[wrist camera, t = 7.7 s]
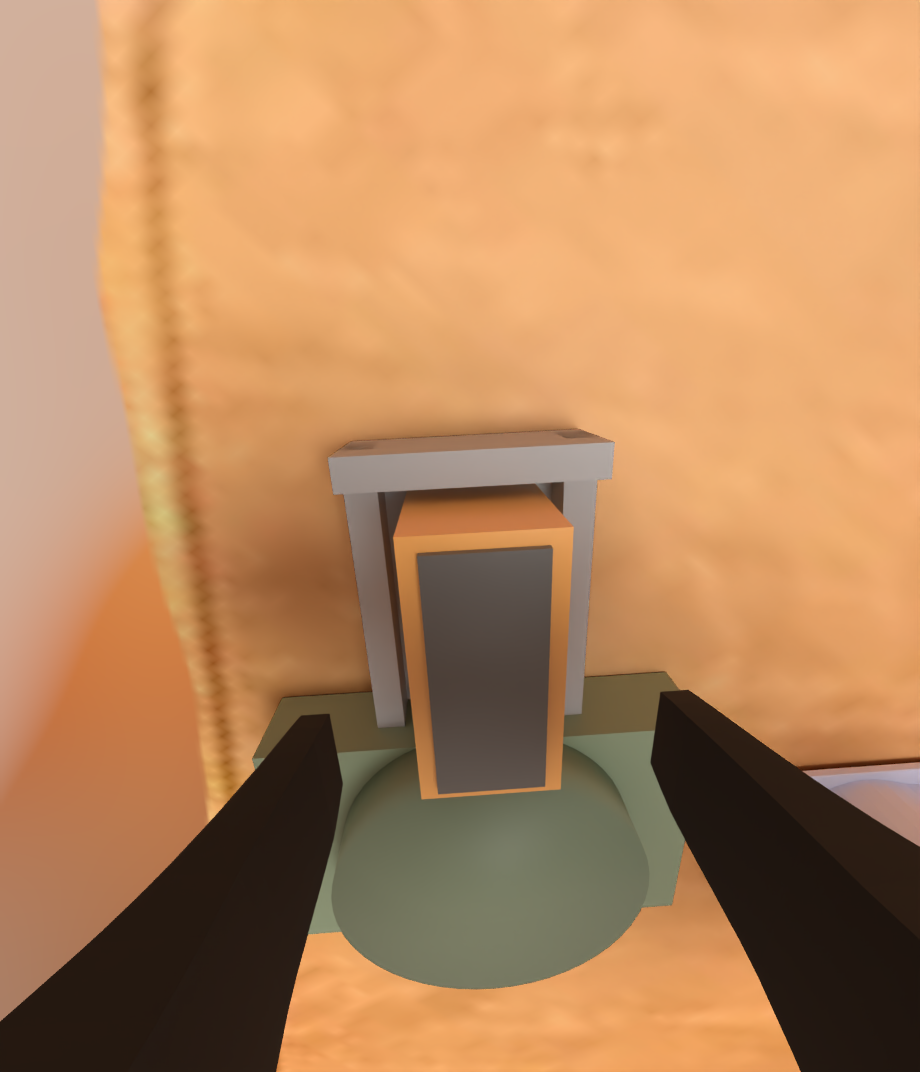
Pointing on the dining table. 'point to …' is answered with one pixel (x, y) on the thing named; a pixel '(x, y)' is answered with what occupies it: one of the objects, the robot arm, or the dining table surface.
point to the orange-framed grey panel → (485, 636)
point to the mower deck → (497, 819)
